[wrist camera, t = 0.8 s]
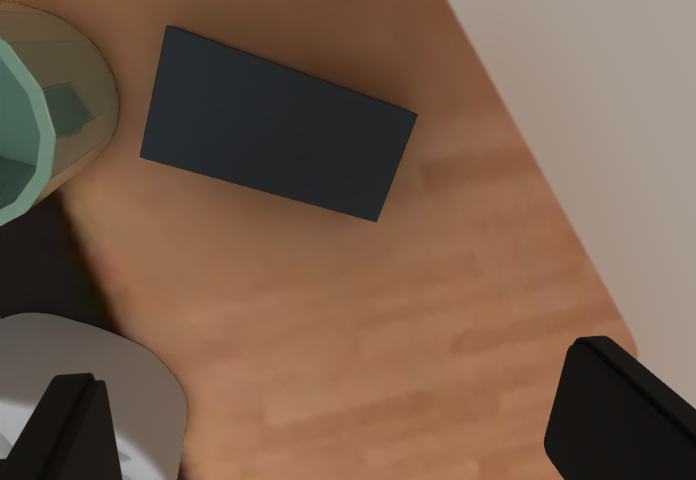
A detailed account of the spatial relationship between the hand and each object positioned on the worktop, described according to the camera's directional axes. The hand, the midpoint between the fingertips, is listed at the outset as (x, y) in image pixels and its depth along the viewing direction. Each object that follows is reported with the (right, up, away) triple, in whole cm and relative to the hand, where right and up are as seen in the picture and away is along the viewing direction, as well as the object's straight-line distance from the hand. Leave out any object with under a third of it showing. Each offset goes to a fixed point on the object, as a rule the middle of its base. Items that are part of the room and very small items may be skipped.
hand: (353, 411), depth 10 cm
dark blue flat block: (-4, +10, +17) cm, 20 cm away
